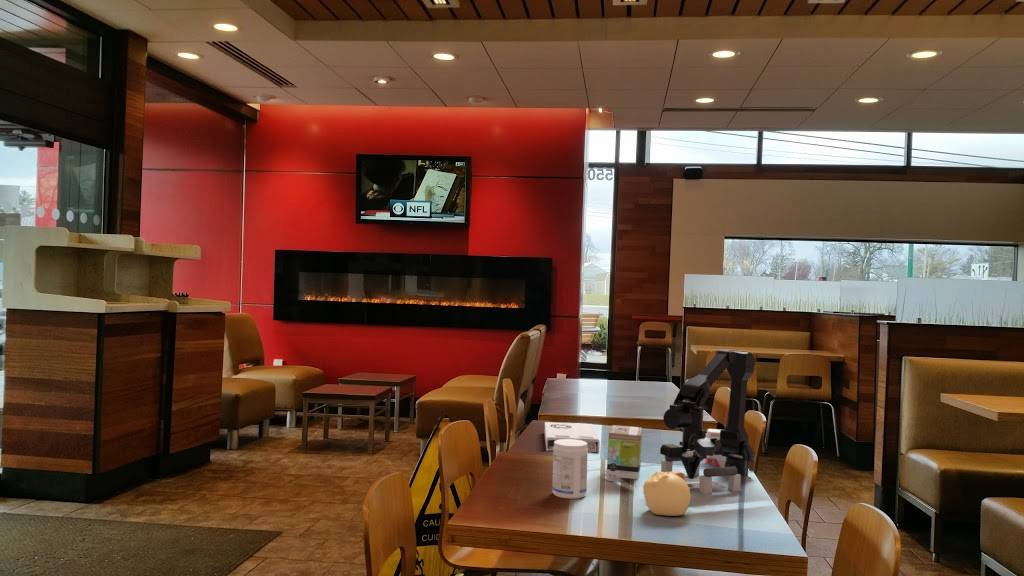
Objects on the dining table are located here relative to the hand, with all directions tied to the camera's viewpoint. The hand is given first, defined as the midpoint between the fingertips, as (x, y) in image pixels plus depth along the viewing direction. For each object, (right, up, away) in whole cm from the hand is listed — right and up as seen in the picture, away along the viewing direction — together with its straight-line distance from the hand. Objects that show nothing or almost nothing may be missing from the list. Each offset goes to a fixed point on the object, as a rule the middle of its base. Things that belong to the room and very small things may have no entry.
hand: (690, 478), depth 215 cm
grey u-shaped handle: (-1, -3, +10) cm, 10 cm away
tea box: (-18, -3, +11) cm, 21 cm away
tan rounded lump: (-13, -2, -26) cm, 29 cm away
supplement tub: (-37, -2, -12) cm, 39 cm away
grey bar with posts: (+6, -3, -8) cm, 10 cm away
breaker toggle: (-5, -1, -2) cm, 5 cm away
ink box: (+17, -4, +31) cm, 35 cm away
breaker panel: (0, -3, 0) cm, 3 cm away
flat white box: (-31, -3, +61) cm, 68 cm away
